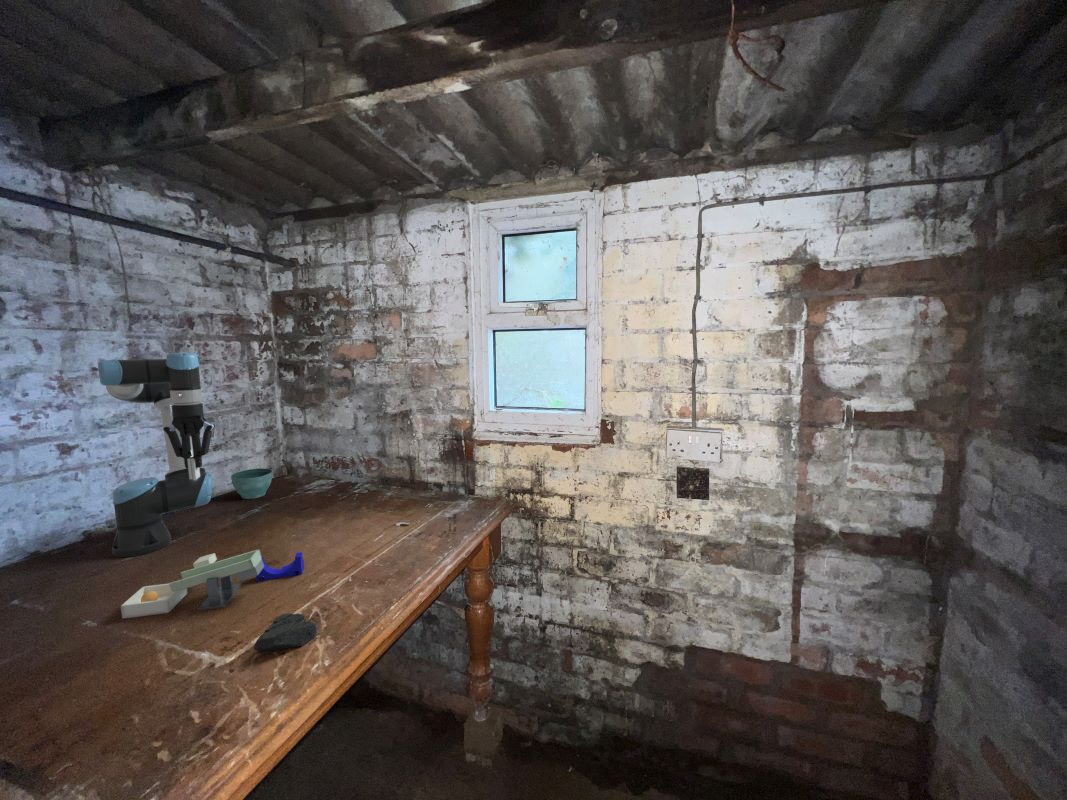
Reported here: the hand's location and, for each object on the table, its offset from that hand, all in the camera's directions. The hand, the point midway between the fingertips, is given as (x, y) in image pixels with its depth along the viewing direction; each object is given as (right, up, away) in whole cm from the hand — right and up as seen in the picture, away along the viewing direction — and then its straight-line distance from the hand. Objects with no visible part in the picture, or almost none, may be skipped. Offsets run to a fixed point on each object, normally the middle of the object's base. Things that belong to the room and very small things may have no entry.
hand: (194, 477), depth 135 cm
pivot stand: (+19, -31, -15) cm, 39 cm away
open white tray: (+4, -31, -19) cm, 37 cm away
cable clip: (+29, -29, -3) cm, 41 cm away
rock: (+48, -33, -33) cm, 67 cm away
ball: (+3, -29, -19) cm, 35 cm away
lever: (+19, -26, -12) cm, 34 cm away
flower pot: (-24, -20, +65) cm, 72 cm away
